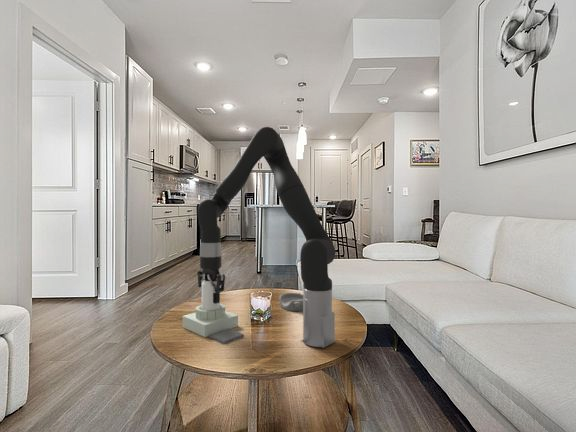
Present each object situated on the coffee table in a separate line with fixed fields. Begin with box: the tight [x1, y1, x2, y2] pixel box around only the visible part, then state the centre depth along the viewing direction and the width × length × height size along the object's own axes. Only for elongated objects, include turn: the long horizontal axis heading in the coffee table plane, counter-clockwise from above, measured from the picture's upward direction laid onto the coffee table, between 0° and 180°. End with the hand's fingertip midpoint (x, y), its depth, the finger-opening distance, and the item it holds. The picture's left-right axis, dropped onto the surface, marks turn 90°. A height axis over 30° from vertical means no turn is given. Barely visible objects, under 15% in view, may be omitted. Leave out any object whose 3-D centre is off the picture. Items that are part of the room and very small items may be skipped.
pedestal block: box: [182, 303, 239, 338], centre depth 113 cm, size 14×14×7 cm
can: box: [201, 279, 221, 311], centre depth 113 cm, size 6×6×12 cm
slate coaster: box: [208, 328, 245, 345], centre depth 103 cm, size 8×8×1 cm
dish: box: [279, 292, 303, 312], centre depth 137 cm, size 14×14×5 cm
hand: (210, 301), depth 113 cm, fingers closed on can, 6 cm apart
